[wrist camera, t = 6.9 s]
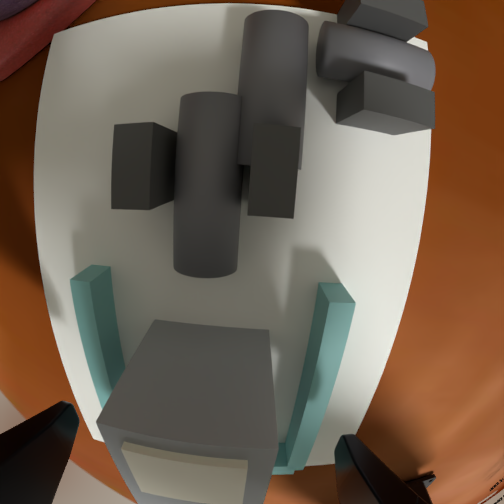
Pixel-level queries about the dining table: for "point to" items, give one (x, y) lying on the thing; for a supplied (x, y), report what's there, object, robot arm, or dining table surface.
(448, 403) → the dining table surface
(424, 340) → the dining table surface
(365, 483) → the robot arm
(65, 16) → the stacking bear
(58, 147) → the board
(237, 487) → the block
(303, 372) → the end holder
